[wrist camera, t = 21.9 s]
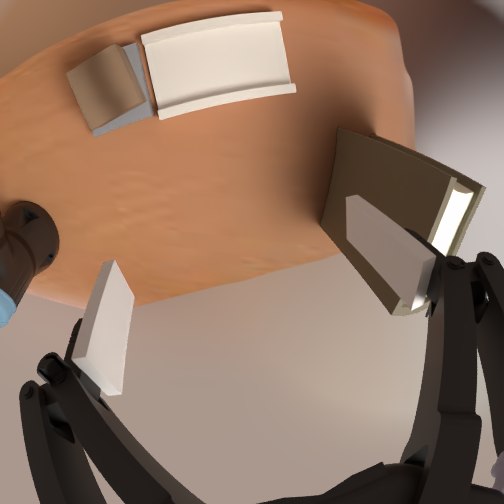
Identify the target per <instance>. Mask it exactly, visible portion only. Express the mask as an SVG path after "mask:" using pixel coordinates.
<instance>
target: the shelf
mask: <svg viewBox="0 0 504 504" xmlns="http://www.w3.org/2000/svg"><path fill="white" fill-rule="evenodd" d="M282 20H283V17H282V13H281V11H279V12H259V13H247V14H238V15H229V16H222V17H216V18H210V19H204V20H199V21H194V22H189V23H184V24H180V25H176V26H172V27H168V28H164V29H160V30H157V31H153V32H150V33H147V34H143V35H141V39H142V44H143V45H144V46H145V51H146V56H147V61H148V65H149V70H150V75H151V79H152V83H153V88H154V92H155V96H156V101H157V105H158V109H159V110H158V115H159V119H160V120H162V119H166V118H169V117H173V116H176V115H180V114H183V113H187V112H191V111H195V110H199V109H203V108H207V107H212V106H216V105H221V104H226V103H231V102H236V101H241V100H247V99H252V98H259V97H265V96H272V95H279V94H287V93H296V86H295V83H294V84H291V81H290V76H289V70H288V64H287V59H286V53H285V48H284V43H283V38H282V33H281V28H280V23H279V22H280V21H282Z"/></svg>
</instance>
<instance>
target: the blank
mask: <svg viewBox="0 0 504 504" xmlns="http://www.w3.org/2000/svg"><path fill="white" fill-rule="evenodd" d="M66 76H67V78H68V81H69V83H70V86H71V88H72V90H73V93H74V95H75V97H76V99H77V102H78V104H79V106H80V108H81V111H82V113H83V115H84V117H85V119H86V121H87V124H88V126H89V128H90V130H91V131H92V130H94V129H97V128H100V127H102V126H104V125H106V124H108V123H109V122H111V121H113V120H114V119H116V118H118V117H119V116H121V115H123V114H125V113H127V112H128V111H130V110H132V109H134V108H136V107H138V106H140V105H141V104H143V103H145V102H147V99H146V97H145V95H144V93H143V90H142V88H141V86H140V84H139V81H138V79H137V77H136V75H135V72H134V70H133V68H132V66H131V63H130V61H129V59H128V56H127V54H126V52H125V50H124V49H123V48H122V47H120V46H119V45H117V44H116V43H114V44H112V45H110V46H109V47H107V48H105V49H103V50H102V51H100V52H98V53H97V54H95V55H93V56H92V57H90V58H89V59H87V60H86V61H84V62H82V63H81V64H79V65H78V66H76V67H75V68H73V69H72V70H71V71H69V72H68V73H66Z"/></svg>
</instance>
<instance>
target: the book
mask: <svg viewBox="0 0 504 504" xmlns="http://www.w3.org/2000/svg"><path fill="white" fill-rule="evenodd" d="M485 189H486V187H484V186H483V185H481V184H479V183H478V182H476V181H474V180H472V179H470V178H469V177H467V176H465V175H463V174H461V173H460V172H458V171H456V170H454V169H451V168H450V167H448V166H446V165H444V164H442V163H440V162H438V161H436V160H434V159H432V158H429V157H427V156H425V155H423V154H421V153H418V152H416V151H414V150H412V149H409V148H407V147H405V146H402V145H400V144H397V143H395V142H392V141H390V140H387V139H385V138H382V137H379V136H377V135H373V134H371V138H369V137H366V136H364V135H361V134H358V133H356V132H353V131H350V130H347V129H344V128H340V127H338V129H337V142H336V154H335V162H334V167H333V173H332V178H331V182H330V187H329V192H328V196H327V200H326V204H325V208H324V211H323V215H322V219H321V222H320V227H321V228H322V229H323V230H324V231H325V232H326V234H327V235H328V236H329V237H330V238H331V240H332V241H333V242H334V243H335V244H336V246H337V247H338V248H339V249H340V250H341V252H342V253H343V254H344V255H345V256H346V258H347V259H348V260H349V261H350V263H351V264H352V265H353V266H354V267H355V269H356V270H357V271H358V272H359V274H360V275H361V276H362V278H363V279H364V280H365V281H366V283H367V284H368V285H369V286H370V288H371V289H372V290H373V292H374V293H375V294H376V296H377V297H378V298H379V300H380V301H381V302H382V304H383V305H384V306H385V308H386V309H387V310H388V312H389V313H390V314H391V315H395V316H405V315H409V314H414V313H417V312H420V311H422V310H424V309H426V308H428V307H429V304H430V301H431V300H430V298H429V297H428V296H427V295H426V297H425V301H424V304H423V305H422V306H420V307H418V308H416V309H414V310H412V311H411V310H410V309H409V308H408V306H407V305H406V304H405V303H404V302H403V301H402V299H401V298H400V297H399V296H398V295H397V294H396V292H395V291H394V290H393V289H392V288H391V287H390V285H389V284H388V283H387V282H386V281H385V280H384V279H383V278H382V276H381V275H380V274H379V273H378V272H377V271H376V270H375V269H374V268H373V266H372V265H371V264H370V263H369V262H368V261H367V260H366V259H365V258H364V257H363V256H362V255H361V253H360V252H359V251H358V250H357V249H356V248H355V247H354V246H353V245H352V244H351V243H350V242H349V241H348V240H347V227H346V197H349V196H353V195H359V196H360V197H361V198H363V199H364V200H366V201H367V202H368V203H370V204H371V205H373V206H374V207H375V208H377V209H378V210H379V211H381V212H382V213H383V214H385V215H386V216H387V217H389V218H390V219H391V220H393V221H394V222H395V223H397V224H398V225H399V226H400V227H402V228H403V229H404V228H408V229H410V230H413V231H415V232H417V233H418V234H419V235H420V236H422V238H424V239H425V240H427V242H429V243H430V244H431V245H433V246H434V247H435V248H436V249H438V250H439V251H440V252H441V253H442V254H443V255H445V256H448V255H453V256H456V254H457V252H458V249H459V247H460V245H461V242H462V240H463V238H464V235H465V233H466V230H467V228H468V225H469V223H470V222H471V220H472V218H473V216H474V213H475V211H476V209H477V207H478V205H479V203H480V201H481V198H482V196H483V194H484V191H485Z"/></svg>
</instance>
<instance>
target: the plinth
mask: <svg viewBox="0 0 504 504" xmlns="http://www.w3.org/2000/svg"><path fill="white" fill-rule="evenodd" d="M122 48H123V49H124V50H125V52H126V54H127V56H128V59H129V61H130V63H131V66H132V68H133V70H134V72H135V75H136V77H137V79H138V81H139V84H140V86H141V88H142V90H143V93H144V95H145V97H146V99H147V102H145V103H143V104H141V105H140V106H138V107H136V108H134V109H132V110H130V111H128V112H127V113H125V114H123V115H121V116H119V117H118V118H116V119H114V120H113V121H111V122H109V123H108V124H106V125H104V126H102V127H100V128H97V129H94V130H92V131H93V134H94V137H97V136H99V135H102V134H104V133H107V132H109V131H112V130H114V129H117V128H120V127H122V126H125V125H128V124H131V123H133V122H136V121H139V120H142V119H145V118H148V117H151V116H154V111H153V107H152V103H151V99H150V95H149V90H148V86H147V82H146V77H145V73H144V68H143V64H142V59H141V54H140V49H139V46H138V45H137V44H136V43H133V44H130V45H127V46H124V47H122Z"/></svg>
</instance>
